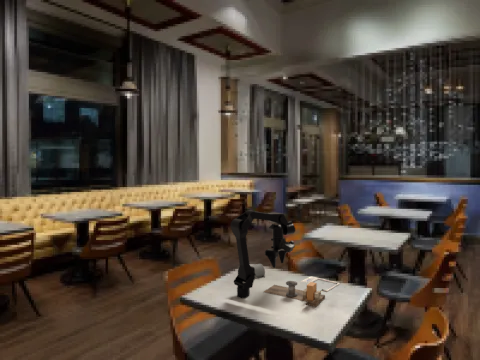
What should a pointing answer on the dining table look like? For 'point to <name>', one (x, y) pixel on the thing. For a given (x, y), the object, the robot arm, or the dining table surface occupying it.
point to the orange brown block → (311, 290)
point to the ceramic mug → (259, 270)
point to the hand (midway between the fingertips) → (278, 265)
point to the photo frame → (312, 279)
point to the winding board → (295, 293)
